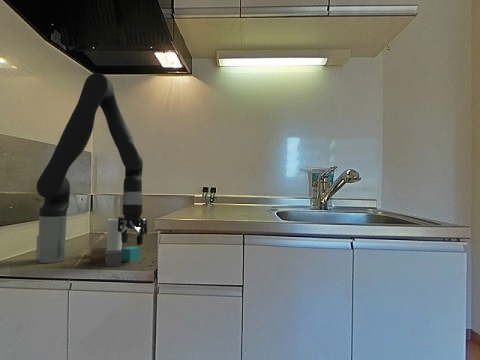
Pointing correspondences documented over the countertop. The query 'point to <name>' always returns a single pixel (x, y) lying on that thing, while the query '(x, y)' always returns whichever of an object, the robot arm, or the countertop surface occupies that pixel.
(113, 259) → the charcoal block
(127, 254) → the teal block
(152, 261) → the countertop surface
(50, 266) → the countertop surface
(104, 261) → the walnut block
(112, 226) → the drinking glass
